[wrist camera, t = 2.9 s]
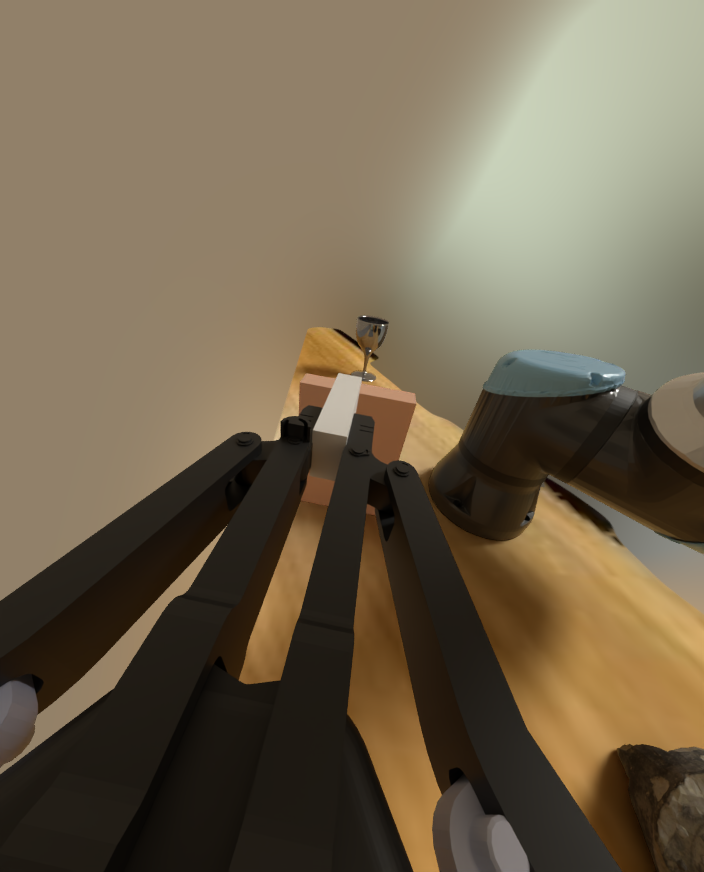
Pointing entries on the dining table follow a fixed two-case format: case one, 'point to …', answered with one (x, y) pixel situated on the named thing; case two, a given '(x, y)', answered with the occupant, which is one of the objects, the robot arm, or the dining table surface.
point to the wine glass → (369, 340)
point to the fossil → (668, 803)
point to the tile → (380, 403)
